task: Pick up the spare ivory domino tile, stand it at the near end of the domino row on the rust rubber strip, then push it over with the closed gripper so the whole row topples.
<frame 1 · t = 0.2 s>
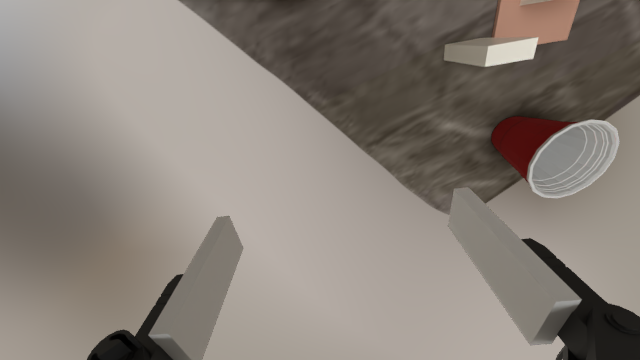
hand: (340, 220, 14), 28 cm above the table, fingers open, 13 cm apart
plastic cup: (509, 131, 40), on the table
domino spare: (462, 49, 34), on the table
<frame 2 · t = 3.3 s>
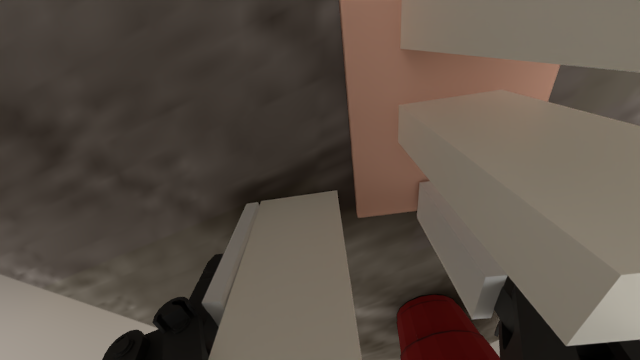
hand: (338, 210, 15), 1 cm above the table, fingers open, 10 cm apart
plastic cup: (427, 309, 23), on the table
domino 4: (446, 117, 12), point 1 cm above the table, touching strip
domino 3: (460, 12, 10), point 1 cm above the table, touching strip
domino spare: (301, 207, 16), on the table, touching gripper
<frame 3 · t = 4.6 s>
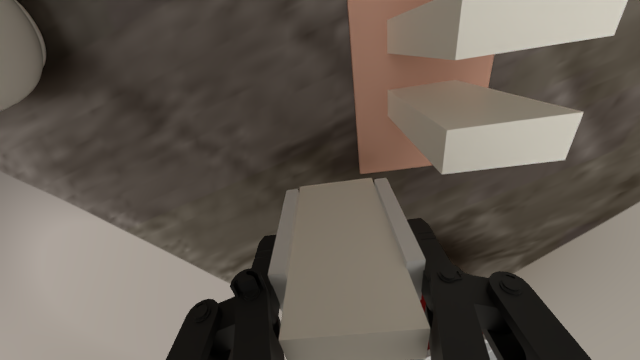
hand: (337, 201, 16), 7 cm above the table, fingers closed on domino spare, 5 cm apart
domino 4: (420, 98, 18), point 1 cm above the table, touching strip
domino 3: (424, 30, 16), point 1 cm above the table, touching strip
lidded jar: (2, 31, 17), on the table
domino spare: (336, 194, 17), point 5 cm above the table, touching gripper
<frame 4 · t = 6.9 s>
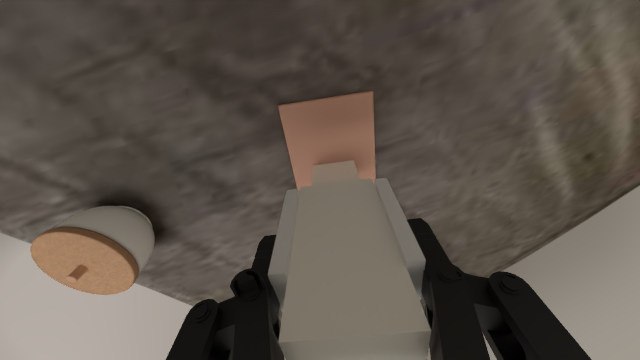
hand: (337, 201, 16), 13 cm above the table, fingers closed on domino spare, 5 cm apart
lidded jar: (131, 221, 34), on the table
domino 1: (334, 170, 29), point 1 cm above the table, touching strip
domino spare: (337, 194, 17), point 12 cm above the table, touching gripper
strip: (338, 203, 32), on the table
when the fingers open (1 cm above the table, at t = 9.2 s): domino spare stays where it is, resting on strip.
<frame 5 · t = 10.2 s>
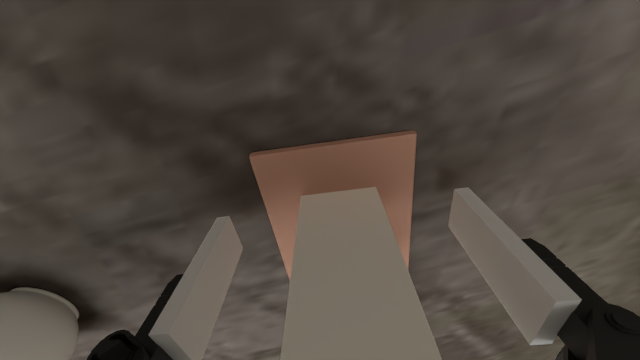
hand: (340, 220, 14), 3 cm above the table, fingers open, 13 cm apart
lidded jar: (47, 304, 23), on the table
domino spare: (339, 203, 16), point 1 cm above the table, touching strip
strip: (349, 285, 22), on the table
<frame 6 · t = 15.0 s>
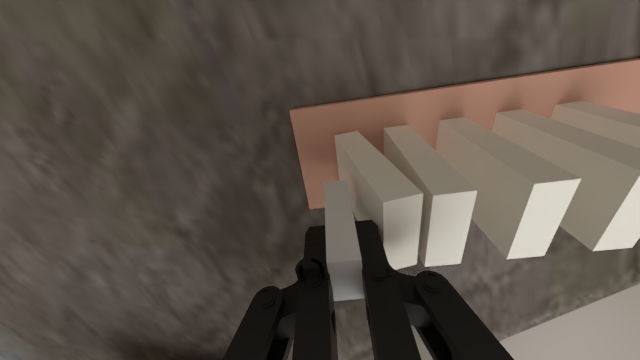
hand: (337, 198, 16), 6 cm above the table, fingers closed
domino 4: (557, 132, 20), point 1 cm above the table, touching strip
domino 3: (501, 140, 20), point 1 cm above the table, touching strip
lidded jar: (419, 324, 36), on the table
domino 1: (395, 153, 21), point 1 cm above the table, touching strip
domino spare: (348, 159, 21), point 1 cm above the table, tilted 10°, touching gripper, strip
domino 2: (447, 146, 21), point 1 cm above the table, touching strip
strip: (456, 142, 21), on the table
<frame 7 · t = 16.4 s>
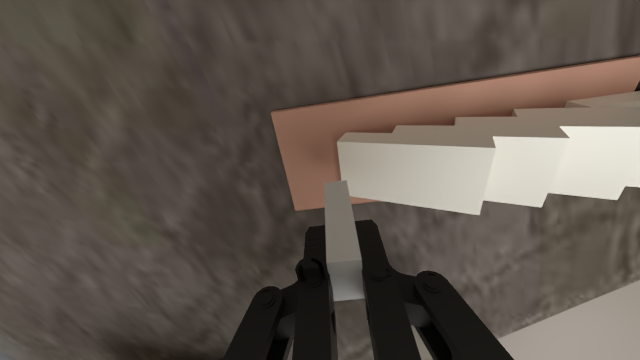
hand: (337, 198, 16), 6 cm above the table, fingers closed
domino 4: (566, 135, 19), point 2 cm above the table, tilted 90°, touching domino 3, strip
domino 3: (507, 142, 19), point 1 cm above the table, tilted 63°, touching domino 2, domino 4, strip
lidded jar: (411, 325, 36), on the table
domino 1: (393, 157, 20), point 1 cm above the table, tilted 64°, touching domino 2, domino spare, strip
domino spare: (344, 164, 20), point 2 cm above the table, tilted 64°, touching domino 1
domino 2: (450, 150, 20), point 2 cm above the table, tilted 63°, touching domino 1, domino 3
strip: (439, 144, 21), on the table
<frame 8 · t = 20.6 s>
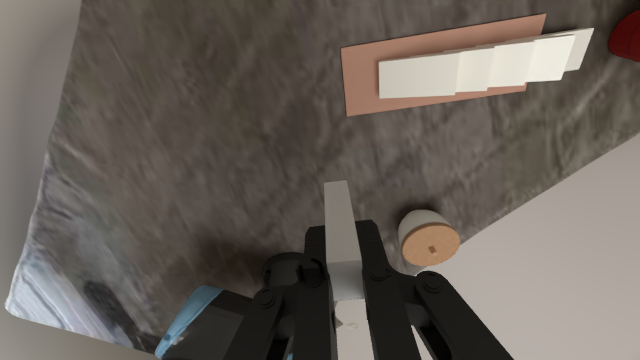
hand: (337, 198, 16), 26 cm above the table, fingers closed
plastic cup: (628, 31, 34), on the table
domino 4: (505, 60, 34), point 2 cm above the table, tilted 90°, touching domino 3, strip
domino 3: (472, 65, 34), point 1 cm above the table, tilted 63°, touching domino 2, domino 4, strip
lidded jar: (416, 220, 51), on the table
domino 1: (408, 75, 35), point 1 cm above the table, tilted 64°, touching domino 2, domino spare, strip
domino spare: (380, 79, 35), point 2 cm above the table, tilted 64°, touching domino 1
domino 2: (441, 70, 35), point 2 cm above the table, tilted 63°, touching domino 1, domino 3
strip: (435, 69, 36), on the table
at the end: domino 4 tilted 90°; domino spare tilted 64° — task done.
